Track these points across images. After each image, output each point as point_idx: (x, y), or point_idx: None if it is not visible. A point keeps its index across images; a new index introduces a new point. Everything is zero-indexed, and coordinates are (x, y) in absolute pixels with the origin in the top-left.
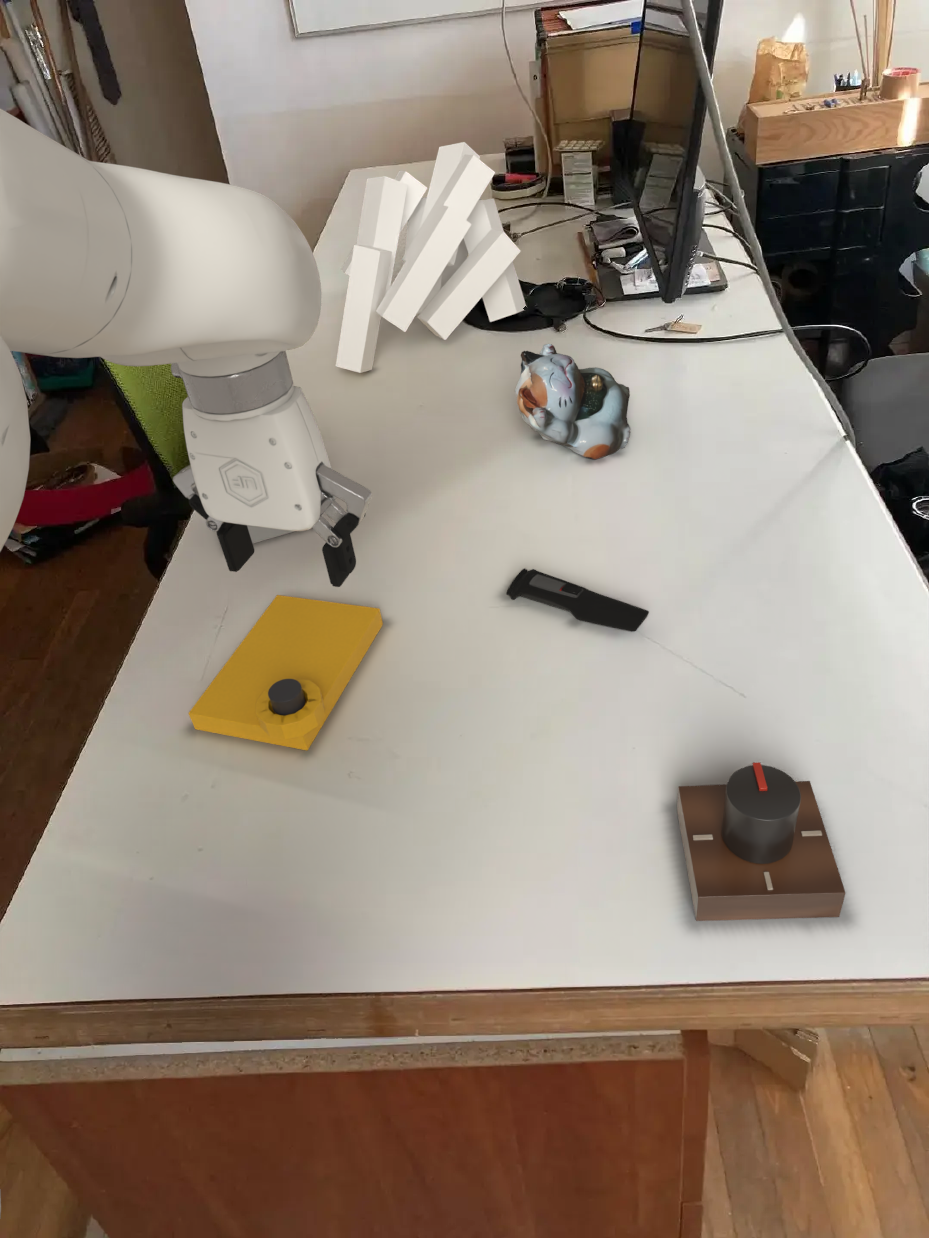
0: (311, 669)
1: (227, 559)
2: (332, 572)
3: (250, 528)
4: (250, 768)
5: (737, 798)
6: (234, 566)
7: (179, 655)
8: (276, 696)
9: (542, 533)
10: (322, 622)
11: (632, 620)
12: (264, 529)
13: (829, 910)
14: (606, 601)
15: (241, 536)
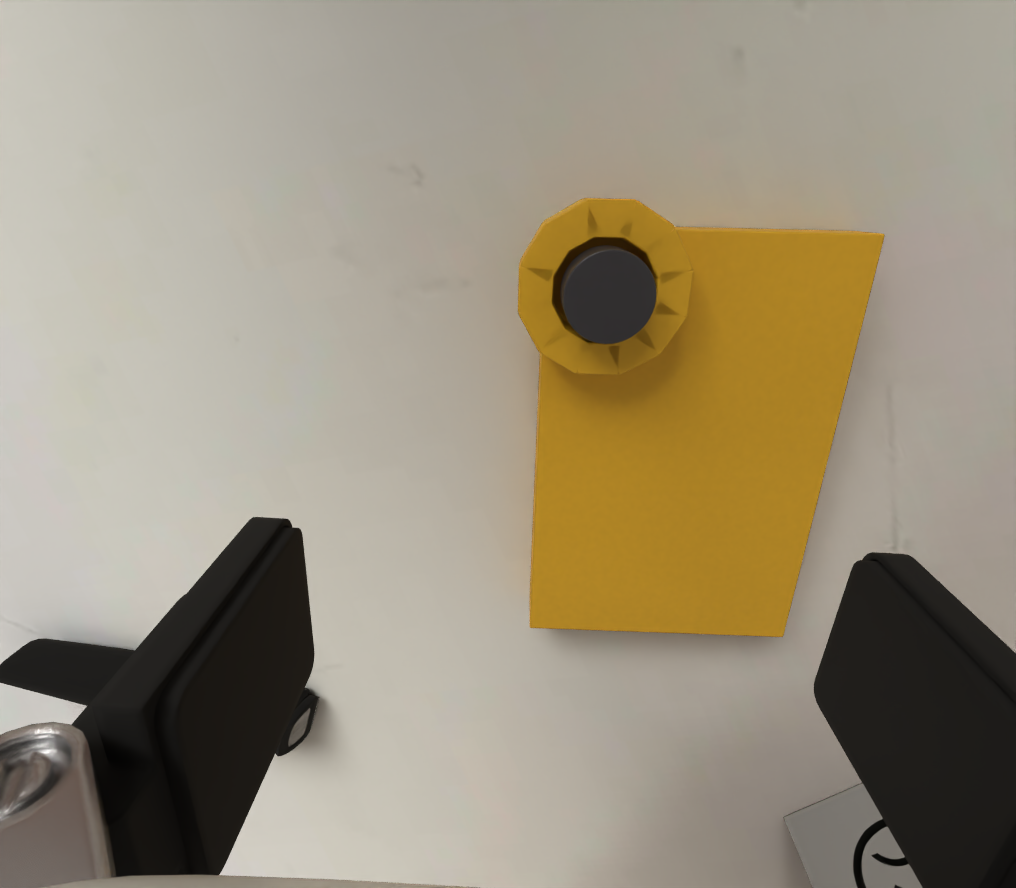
0: (610, 434)
1: (945, 601)
2: (223, 568)
3: None
4: (663, 137)
5: None
6: (884, 573)
7: (972, 450)
8: (623, 270)
9: (330, 833)
10: (642, 573)
11: (28, 658)
12: None
13: None
14: (79, 694)
15: (909, 767)
